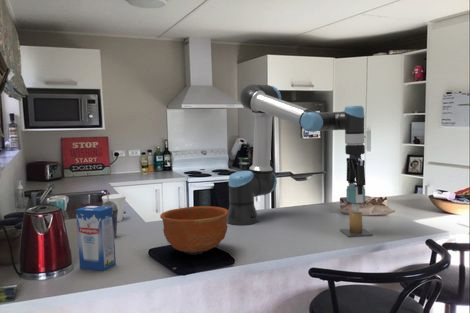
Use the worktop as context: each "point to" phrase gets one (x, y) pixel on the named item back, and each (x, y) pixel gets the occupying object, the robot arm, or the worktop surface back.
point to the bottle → (355, 223)
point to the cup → (117, 203)
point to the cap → (353, 194)
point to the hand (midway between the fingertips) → (355, 200)
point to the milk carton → (96, 237)
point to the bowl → (195, 227)
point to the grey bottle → (115, 212)
